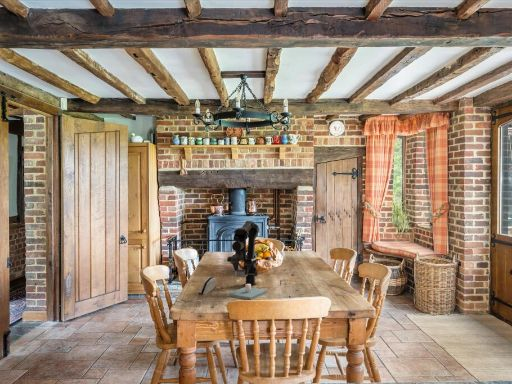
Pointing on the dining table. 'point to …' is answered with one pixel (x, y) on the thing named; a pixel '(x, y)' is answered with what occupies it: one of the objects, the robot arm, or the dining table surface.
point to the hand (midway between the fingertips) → (241, 274)
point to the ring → (240, 273)
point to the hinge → (207, 285)
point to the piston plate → (247, 292)
